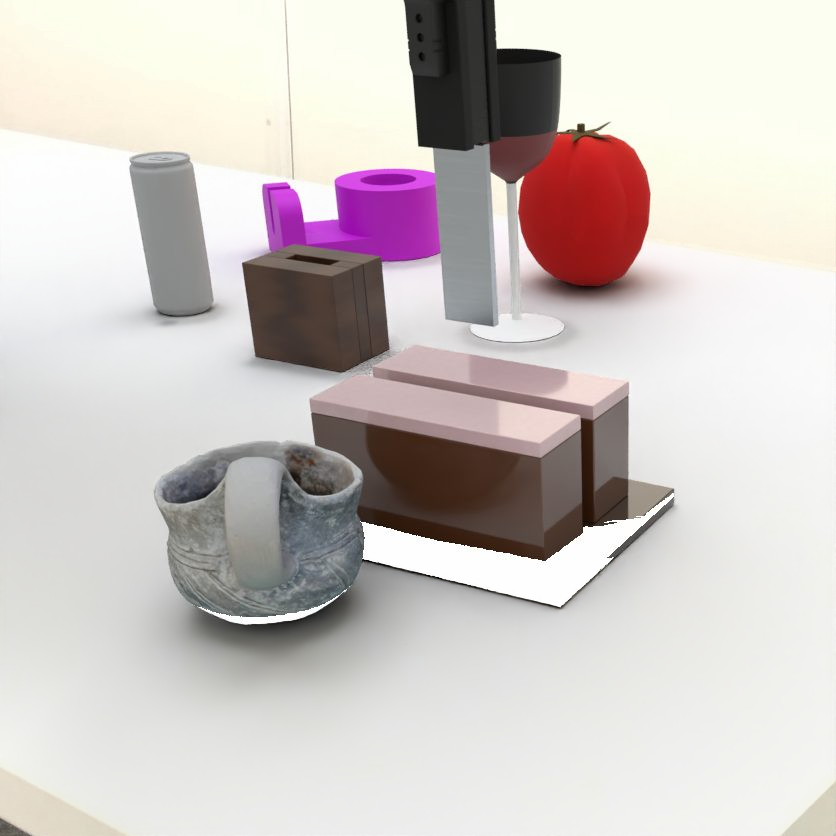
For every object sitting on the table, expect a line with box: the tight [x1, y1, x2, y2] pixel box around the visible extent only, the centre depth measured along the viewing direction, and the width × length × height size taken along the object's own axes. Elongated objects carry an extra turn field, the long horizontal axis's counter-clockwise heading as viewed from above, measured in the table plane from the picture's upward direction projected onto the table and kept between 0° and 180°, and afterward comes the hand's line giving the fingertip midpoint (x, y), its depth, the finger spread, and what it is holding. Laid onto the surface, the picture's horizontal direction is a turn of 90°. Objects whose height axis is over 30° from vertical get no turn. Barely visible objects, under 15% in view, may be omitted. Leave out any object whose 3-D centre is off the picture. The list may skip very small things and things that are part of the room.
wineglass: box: [469, 47, 565, 343], centre depth 101 cm, size 8×9×20 cm
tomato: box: [517, 121, 651, 287], centre depth 114 cm, size 12×12×13 cm
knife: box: [432, 0, 499, 327], centre depth 65 cm, size 3×2×19 cm, turn 65°
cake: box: [308, 344, 675, 561], centre depth 74 cm, size 18×14×8 cm
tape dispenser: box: [261, 168, 441, 262], centre depth 125 cm, size 16×10×6 cm, turn 114°
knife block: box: [241, 244, 390, 373], centre depth 99 cm, size 8×6×7 cm
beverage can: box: [128, 150, 215, 317], centre depth 107 cm, size 5×5×12 cm
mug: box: [153, 439, 365, 617], centre depth 63 cm, size 10×12×10 cm
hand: (459, 142), depth 65 cm, fingers closed on knife, 2 cm apart
